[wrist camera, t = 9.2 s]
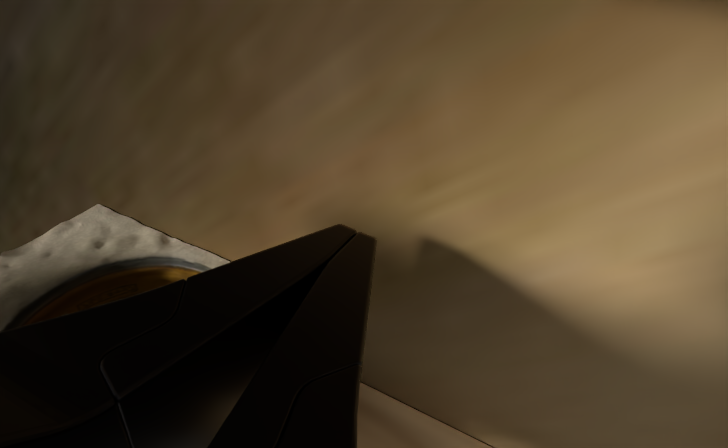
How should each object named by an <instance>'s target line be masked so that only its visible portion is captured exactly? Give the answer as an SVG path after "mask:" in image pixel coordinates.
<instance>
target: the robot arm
mask: <svg viewBox="0 0 728 448" xmlns="http://www.w3.org/2000/svg"><path fill="white" fill-rule="evenodd" d="M376 243H377V241H376V239H375V238H374V237H371V236H369V235H366V234H364V233H361V232H359V233H357V231H356V230H354V229H352V228H349V227H347V226H345V225H342V224H338V225H335V226H332V227H329V228H326V229H323V230H320V231H318V232H315V233H312V234H309V235H306V236H303V237H301V238H298V239H295V240H292V241H289V242H286V243H284V244H281V245H278V246H275V247H272V248H269V249H267V250H264V251H261V252H258V253H255V254H252V255H249V256H247V257H244V258H241V259H238V260H235V261H232V262H230V263H227V264H224V265H221V266H218V267H215V268H213V269H210V270H207V271H204V272H201V273H198V274H196V275H193V276H190V277H188V278H187V280H185V279H181V280H178V281H175V282H173V283H170V284H167V285H164V286H161V287H158V288H155V289H152V290H149V291H146V292H143V293H140V294H137V295H134V296H131V297H127V298H124V299H120V300H117V301H113V302H110V303H106V304H103V305H99V306H96V307H92V308H89V309H85V310H81V311H77V312H74V313H70V314H66V315H62V316H59V317H55V318H51V319H48V320H44V321H40V322H36V323H33V324H29V325H25V326H22V327H18V328H14V329H10V330H7V331H3V332H0V448H357V415H358V402H359V389H360V380H361V372H362V367H361V366H362V362H363V353H364V345H365V336H366V328H367V319H368V311H369V302H370V294H371V285H372V277H373V269H374V260H375V252H376Z"/></svg>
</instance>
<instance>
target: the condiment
mask: <svg viewBox="0 0 728 448" xmlns="http://www.w3.org/2000/svg"><path fill="white" fill-rule="evenodd" d="M227 263H230V262H229V261H227V260H225V259H223V258H221V257H219V256H217V255H215V254H212V253H210V252H208V251H205V250H203V249H200V248H198V247H195V246H192V245H190V244H187V243H184V242H182V241H180V240H178V239H176V238H171V237H169V236H167V235H165V234H163V233H162V232H159V231H157V230H154V229H152V228H150V227H146V226H144V225H142V224H140V223H138V222H137V221H135V220H133V219H131V218H129V217H126V216H123V215H120V214H118V213H116V212H114V211H112V210H111V209H109V208H106V207H104V206H102V205H100V204H97V205H95V206H94V207H92V208H90V209H88V210H87V211H85V212H83V213H81V214H80V215H78V216H76V217H74V218H72V219H71V220H68V221H65V222H62V223H60V224H59V225H57V226H56V227H54V228H52V229H51V230H49V231H48V232H46V233H45V234H44V235H42V236H40V237H38V238H36V239H35V240H33V241H31V242H29V243H27V244H26V245H23V246H21V247H18V248H16V249H14V250H10V251H4V252H2V253H1V256H0V332H3V331H7V330H10V329H14V328H18V327H22V326H25V325H29V324H33V323H36V322H40V321H44V320H48V319H51V318H55V317H59V316H62V315H66V314H70V313H74V312H77V311H81V310H85V309H89V308H92V307H96V306H99V305H103V304H106V303H110V302H113V301H117V300H120V299H124V298H127V297H131V296H134V295H137V294H140V293H143V292H146V291H149V290H152V289H155V288H158V287H161V286H164V285H167V284H170V283H173V282H175V281H178V280H181V279H185V280H187V278H188V277H190V276H193V275H196V274H198V273H201V272H204V271H207V270H210V269H213V268H215V267H218V266H221V265H224V264H227Z"/></svg>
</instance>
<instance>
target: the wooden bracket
mask: <svg viewBox="0 0 728 448" xmlns="http://www.w3.org/2000/svg"><path fill="white" fill-rule="evenodd" d="M357 448H492V447H490V446H488V445H486V444H484V443H482V442H480V441H478V440H476V439H474V438H472V437H470V436H468V435H466V434H464V433H462V432H460V431H458V430H456V429H454V428H452V427H450V426H448V425H446V424H444V423H442V422H440V421H438V420H436V419H434V418H432V417H429V416H427V415H425V414H423V413H421V412H419V411H417V410H415V409H413V408H411V407H409V406H407V405H405V404H403V403H401V402H399V401H397V400H395V399H393V398H391V397H389V396H387V395H385V394H383V393H381V392H379V391H377V390H375V389H373V388H371V387H369V386H367V385H365V384H363V383H361V382H360V389H359V402H358V415H357Z"/></svg>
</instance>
